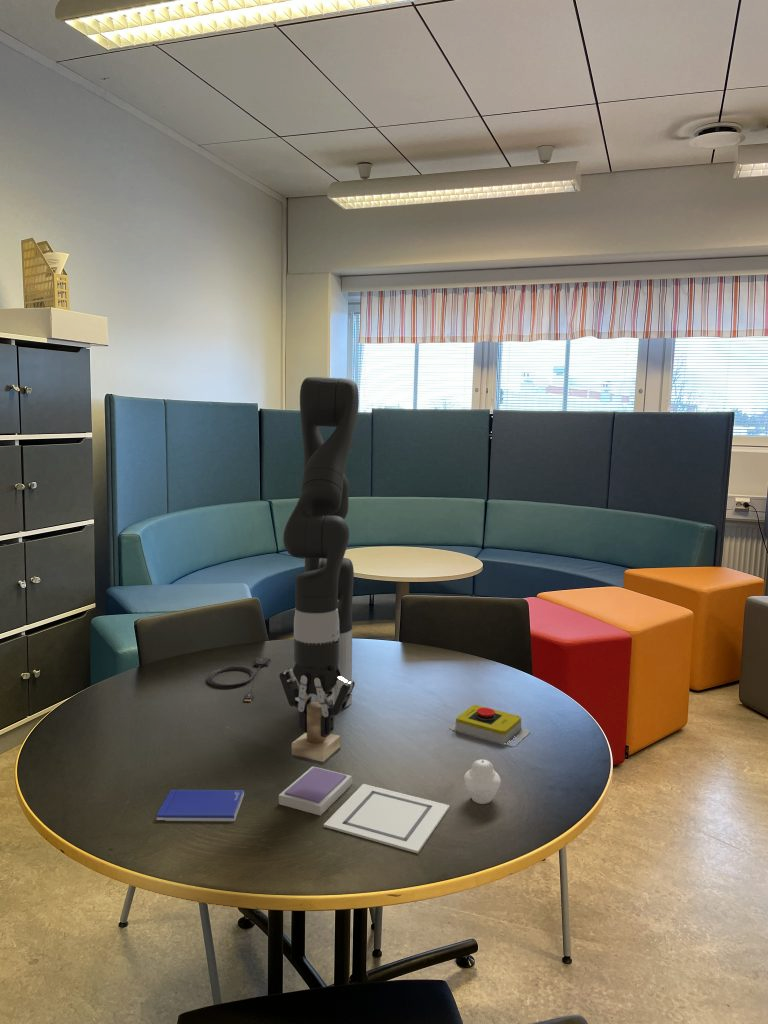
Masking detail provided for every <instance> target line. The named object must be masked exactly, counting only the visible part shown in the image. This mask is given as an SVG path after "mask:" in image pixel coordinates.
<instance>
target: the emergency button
mask: <svg viewBox="0 0 768 1024" xmlns="http://www.w3.org/2000/svg"><path fill="white" fill-rule="evenodd" d="M449 728H450V729H451V731H453V730H454V732H456V731H458V732H457V733H460V732H461V733H460V734H463V733H464V735H467V736H471V737H474V736H475V738H478V739H481V738H482V740H485V741H488V740H489V742H492V741H493V742H492V743H495V742H497V743H496V744H499V743H501V744H500V745H502V743H503V744H504V743H506V744H505V745H504V746H506V745H507V742H508V741H509V740H510V741H511V740H513V738H515V737H517V736H518V735H519V736H518V737H517V740H518V739H520V738H521V739H522V738H524V737H526V736H527V735H528V734H529V732H531V729H528V728H524V727H522V716H520V715H517V714H513V713H510V712H509V713H508V712H507V711H506V712H505V711H501V710H498V709H493V708H490V707H485V706H482V705H478V704H474V705H473V704H472V705H471V706H469V708H467V709H466V710H464V711H463V712H461V713H460V714H459V715H457V716H456V718H455V722H454V723H453V724H451V725H450V726H449ZM450 729H449V730H450ZM531 733H532V732H531ZM529 735H530V734H529ZM529 735H528V736H529ZM514 736H515V737H514ZM528 736H527V737H528ZM521 739H520V740H521ZM514 740H516V739H514ZM514 740H513V741H514ZM522 741H523V740H521V741H520V743H522ZM518 742H519V741H518ZM508 743H509V742H508ZM511 743H512V742H511ZM516 743H517V742H516ZM508 745H510V743H509V744H508ZM514 745H515V744H514Z"/></svg>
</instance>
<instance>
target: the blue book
mask: <svg viewBox="0 0 768 1024" xmlns="http://www.w3.org/2000/svg"><path fill="white" fill-rule="evenodd" d="M244 796H245V790H243V789H242V790H241V789H226V790H225V789H221V790H220V789H170V790H169V793H168V794H167V796H166V798H165V799H164V801H163V803H162V804H161V806H160V808H159V810H158V812H157V814H156V821H157V820H165V821H164V822H166V821H167V822H235V821H236V819H237V815H238V814H239V813H238V812H239V810H240V807H241V805H242V801H243V799H244Z"/></svg>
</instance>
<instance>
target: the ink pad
mask: <svg viewBox="0 0 768 1024" xmlns="http://www.w3.org/2000/svg"><path fill="white" fill-rule="evenodd" d="M352 784H353V776H352V775H349V774H345V773H341V772H337V771H333V770H328V769H325V768H321V767H317V766H311V767H310V768H308V770H307V771H305V772H304V773H303V774H302V775H300V777H298V778H297V779H296V780H294V781H293V782H292V783H291V784H290V785H288V787H287V788H285V789H284V790H283V791H281V793H279V794H278V804H279V805H280V806H284V807H287V808H288V807H289V808H290V809H291V808H292V809H295V810H300V811H302V812H305V813H311V814H314V815H317V816H322V815H323V814H324V813H325V812H326V811H327V810H328V809H329V808H330V807H331V806H332V805H333V804H334V803H335V802H336V801H337V800H338V799H339V798H341V796H342V795H343V794H344V793H345V792H347V790H348V789H349V788H350V787H351V786H352Z"/></svg>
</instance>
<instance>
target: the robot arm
mask: <svg viewBox="0 0 768 1024" xmlns="http://www.w3.org/2000/svg"><path fill="white" fill-rule="evenodd" d="M359 396H360V395H359V388H358V384H357V383H356V382H355V380H353V379H349V378H341V377H322V376H318V377H317V376H313V377H312V376H308V377H305V378H304V380H303V381H302V383H301V385H300V390H299V412H300V413H299V414H300V423H301V434H302V435H301V436H302V445H303V474H302V475H303V477H302V482H301V483H302V484H301V490H300V496H299V498H298V501H297V503H296V505H295V507H294V509H293V511H292V513H291V514H290V516H289V517H288V520H287V522H286V525H285V528H284V530H283V531H284V532H283V540H282V541H283V546H284V548H285V550H286V552H287V553H288V555H290V556H291V557H293V558H296V559H304V570H303V572H301V573H300V574H298V575H297V576H296V579H295V589H294V590H295V591H294V597H295V598H294V599H295V600H294V603H295V609H294V611H295V612H294V617H293V661H294V666H293V668H288V669H285V670H284V671H282V672H281V673H279V675H278V676H279V677H278V678H279V680H280V682H281V685H282V687H283V690H284V693H285V696H286V699H287V702H288V705H289V706H290V707H294V708H296V709H297V710H298V712H299V715H298V717H299V719H298V720H299V726H298V727H299V728H300V729H301V733H303V734H304V733H307V704H309V703H311V702H319V704H321V710H322V715H323V716H321V737H325V738H326V737H327V736H329V735H330V734H332V733H333V731H334V730H335V727H334V726H335V725H334V716H338V715H339V714H340V713H341V712H343V711H344V710H346V709H345V708H347V707H349V706H350V705H351V704H352V700H353V698H352V697H353V689H354V687H355V686H356V683H355V681H354V680H353V596H354V583H355V582H354V579H355V574H354V572H355V571H354V564H353V561H352V560H351V559H350V558H349V557H348V558H347V557H345V554H346V551H347V547H348V543H349V539H350V529H349V525H348V523H347V522H346V520H345V519H346V517H347V515H348V513H349V497H350V496H349V493H350V492H349V491H350V490H349V488H350V485H349V481H348V479H347V476H346V474H345V471H346V464H347V460H348V456H349V453H350V449H351V445H352V441H353V438H354V434H355V430H356V425H357V419H358V416H359V415H358V414H359V407H360V406H359V405H360V402H359V401H360V399H359ZM320 427H328V428H329V427H332V428H335V429H334V431H333V432H332V433H331V434H330V436H329V437H328V438H327V439H326V440H325V441H324V439H323V436H322V433H321V430H320ZM298 684H299V685H298Z"/></svg>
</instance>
